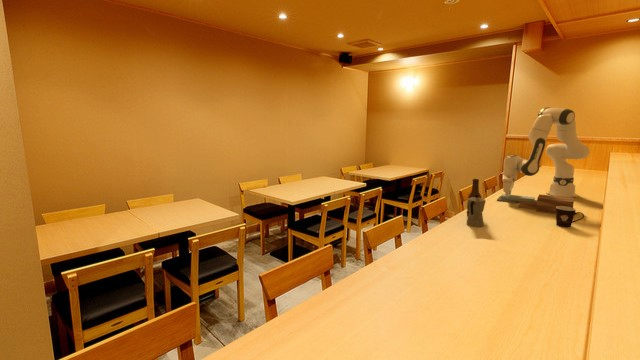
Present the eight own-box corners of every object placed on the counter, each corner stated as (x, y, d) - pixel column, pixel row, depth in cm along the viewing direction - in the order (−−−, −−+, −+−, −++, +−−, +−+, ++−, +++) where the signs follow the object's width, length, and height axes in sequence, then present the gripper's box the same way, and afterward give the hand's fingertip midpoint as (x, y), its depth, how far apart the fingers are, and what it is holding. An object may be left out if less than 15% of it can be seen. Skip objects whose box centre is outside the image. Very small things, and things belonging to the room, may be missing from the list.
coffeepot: (470, 220, 185) (471, 191, 182) (487, 223, 179) (489, 193, 176) (461, 227, 174) (462, 196, 171) (478, 230, 168) (481, 198, 165)
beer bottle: (479, 219, 185) (481, 180, 181) (465, 217, 190) (467, 179, 185) (481, 216, 191) (484, 178, 187) (468, 214, 196) (470, 177, 191)
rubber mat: (500, 197, 234) (500, 195, 234) (541, 202, 218) (541, 200, 217) (496, 200, 225) (496, 199, 225) (540, 205, 209) (540, 204, 208)
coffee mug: (550, 224, 173) (552, 207, 171) (559, 222, 177) (561, 205, 175) (574, 231, 163) (576, 212, 161) (583, 228, 166) (585, 210, 164)
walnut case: (520, 204, 213) (521, 192, 212) (572, 211, 196) (574, 197, 194) (517, 208, 204) (518, 196, 203) (572, 215, 187) (573, 202, 185)
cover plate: (502, 197, 230) (502, 193, 230) (534, 200, 218) (534, 197, 217) (500, 198, 226) (500, 195, 225) (533, 202, 213) (533, 199, 213)
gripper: (507, 174, 232) (505, 192, 235) (501, 179, 217) (500, 198, 220) (516, 175, 228) (515, 193, 231) (512, 180, 213) (510, 199, 216)
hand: (508, 195), depth 225 cm, fingers open, 8 cm apart
